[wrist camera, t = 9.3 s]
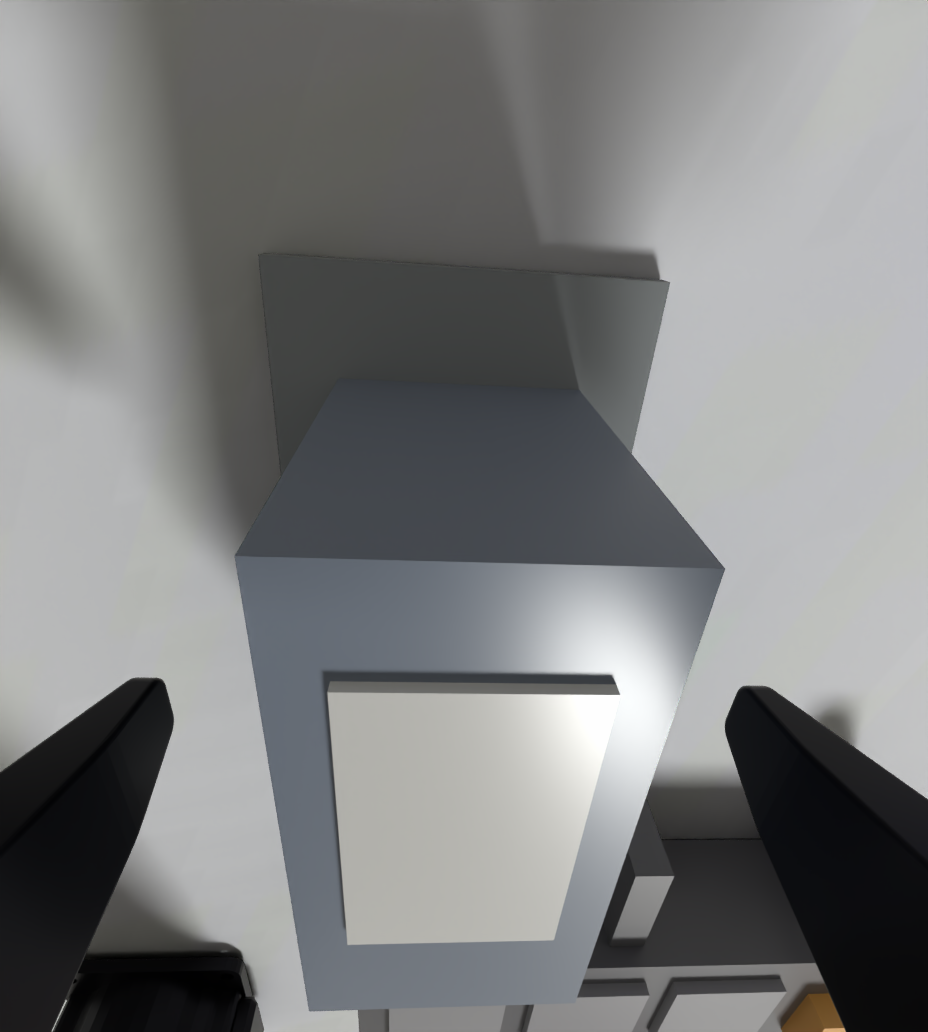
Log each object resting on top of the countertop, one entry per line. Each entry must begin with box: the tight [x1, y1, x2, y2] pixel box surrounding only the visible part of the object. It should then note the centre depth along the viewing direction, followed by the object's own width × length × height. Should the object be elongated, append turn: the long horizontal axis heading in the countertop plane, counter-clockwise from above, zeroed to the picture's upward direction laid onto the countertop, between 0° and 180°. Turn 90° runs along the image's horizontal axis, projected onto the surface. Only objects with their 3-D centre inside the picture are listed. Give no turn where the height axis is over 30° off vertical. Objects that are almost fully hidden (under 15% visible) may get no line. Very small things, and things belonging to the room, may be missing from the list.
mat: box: [258, 253, 670, 476], centre depth 12 cm, size 7×12×1 cm, turn 176°
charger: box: [235, 378, 725, 1011], centre depth 10 cm, size 4×9×6 cm, turn 177°
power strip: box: [358, 799, 846, 1032], centre depth 17 cm, size 20×8×4 cm, turn 86°
